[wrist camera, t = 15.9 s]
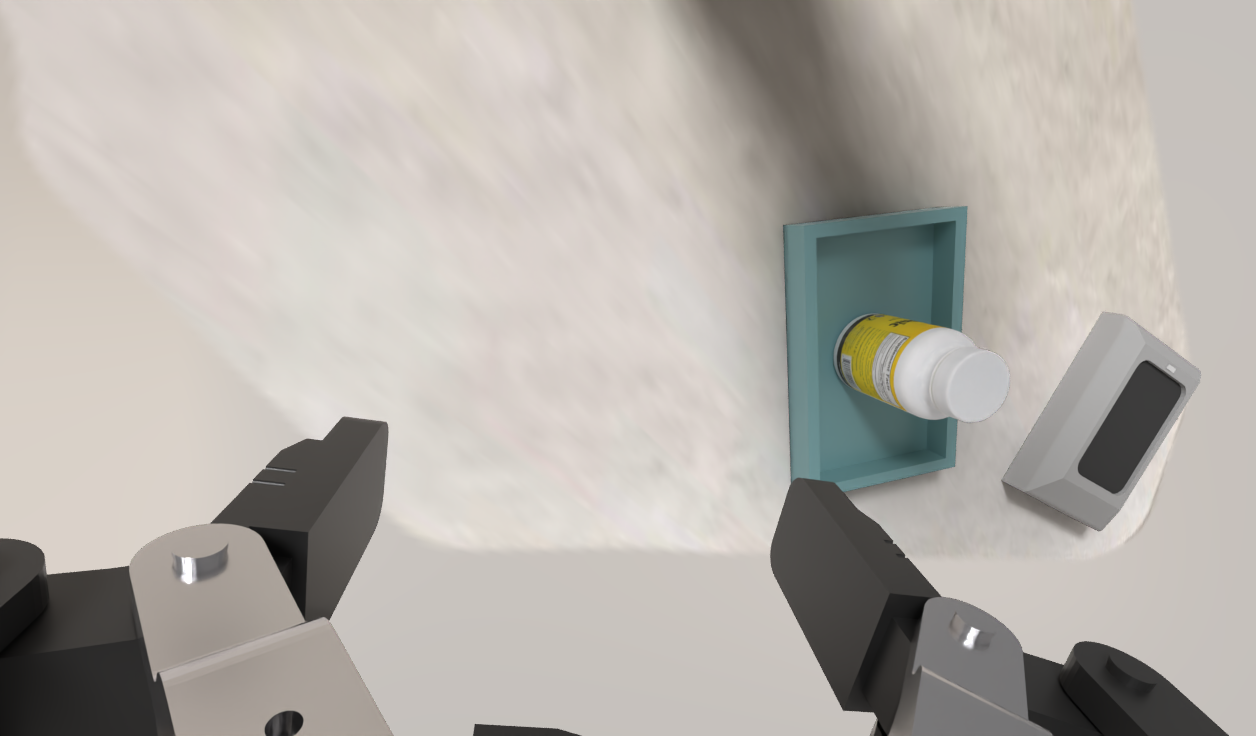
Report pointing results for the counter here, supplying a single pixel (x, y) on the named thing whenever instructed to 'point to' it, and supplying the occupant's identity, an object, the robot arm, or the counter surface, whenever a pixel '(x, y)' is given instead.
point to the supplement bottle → (921, 368)
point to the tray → (836, 295)
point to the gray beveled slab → (1104, 422)
